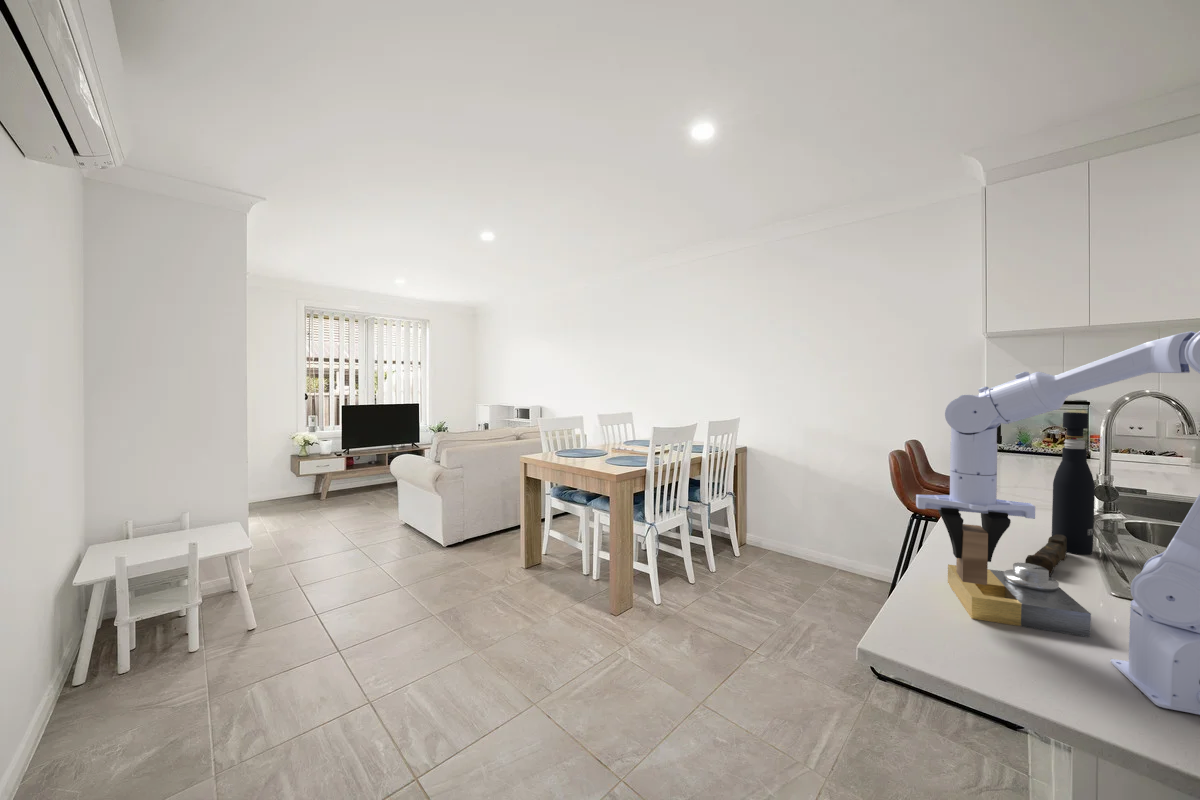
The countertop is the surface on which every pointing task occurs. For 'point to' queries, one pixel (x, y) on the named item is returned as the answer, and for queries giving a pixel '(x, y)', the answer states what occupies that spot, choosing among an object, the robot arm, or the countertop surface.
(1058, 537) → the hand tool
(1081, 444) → the wine bottle
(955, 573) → the slotted base block
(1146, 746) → the countertop surface
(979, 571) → the wedge
